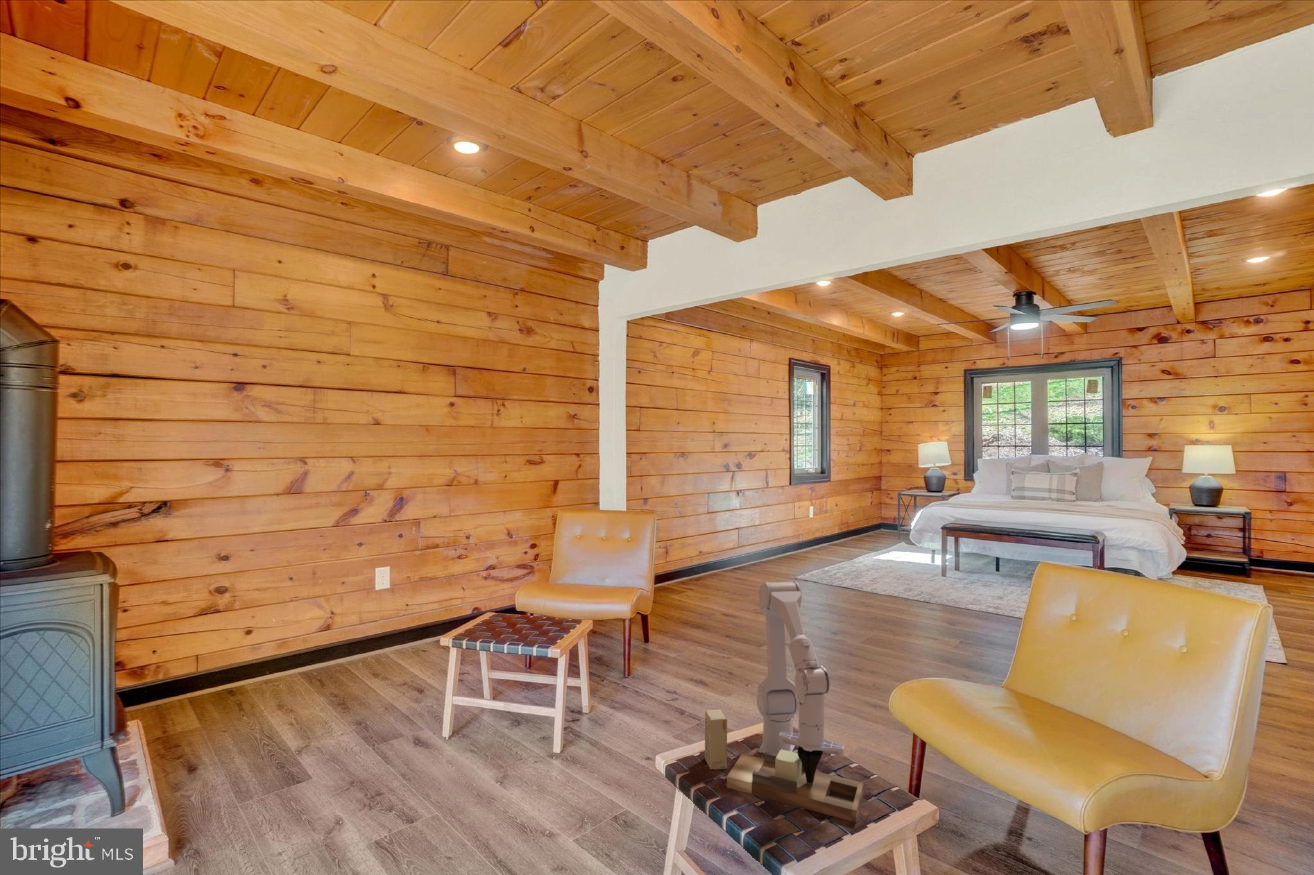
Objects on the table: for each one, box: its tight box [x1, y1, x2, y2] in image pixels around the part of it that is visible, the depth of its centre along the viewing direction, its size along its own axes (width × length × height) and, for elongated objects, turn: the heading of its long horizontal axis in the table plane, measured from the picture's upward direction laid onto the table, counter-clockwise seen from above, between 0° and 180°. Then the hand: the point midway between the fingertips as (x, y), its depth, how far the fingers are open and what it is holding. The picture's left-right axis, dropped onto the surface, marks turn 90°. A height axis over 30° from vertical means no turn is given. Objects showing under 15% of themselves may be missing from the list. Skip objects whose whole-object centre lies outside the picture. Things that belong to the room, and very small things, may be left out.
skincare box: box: [704, 709, 728, 770], centre depth 153 cm, size 6×4×12 cm
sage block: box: [775, 749, 802, 784], centre depth 142 cm, size 5×5×5 cm
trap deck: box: [726, 752, 865, 823], centre depth 141 cm, size 12×29×4 cm, turn 65°
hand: (810, 780), depth 140 cm, fingers closed
